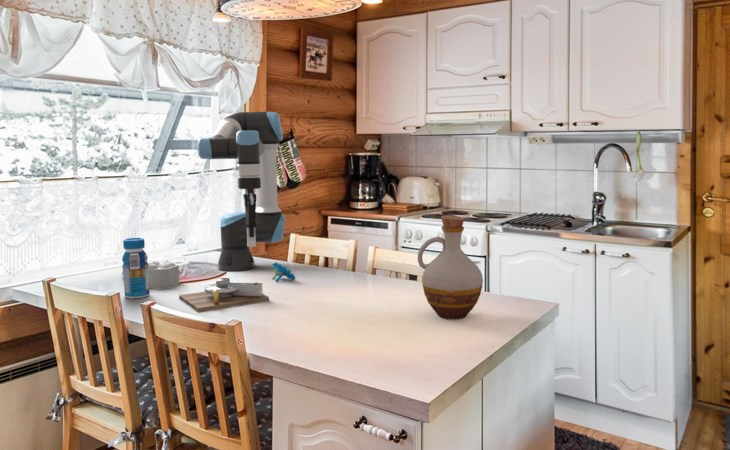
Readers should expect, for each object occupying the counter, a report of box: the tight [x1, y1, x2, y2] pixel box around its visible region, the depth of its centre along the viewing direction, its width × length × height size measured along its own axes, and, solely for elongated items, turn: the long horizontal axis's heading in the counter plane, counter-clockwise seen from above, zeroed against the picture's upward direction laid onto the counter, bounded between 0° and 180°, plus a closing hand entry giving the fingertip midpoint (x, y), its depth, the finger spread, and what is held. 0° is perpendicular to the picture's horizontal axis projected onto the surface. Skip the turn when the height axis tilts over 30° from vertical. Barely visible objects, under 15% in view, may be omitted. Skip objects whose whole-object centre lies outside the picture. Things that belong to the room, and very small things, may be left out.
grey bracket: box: [204, 277, 263, 296], centre depth 202 cm, size 19×12×5 cm, turn 83°
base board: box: [178, 291, 270, 313], centre depth 202 cm, size 20×24×3 cm
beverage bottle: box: [121, 237, 151, 300], centre depth 207 cm, size 8×8×20 cm
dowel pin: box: [213, 290, 219, 305], centre depth 192 cm, size 2×2×4 cm
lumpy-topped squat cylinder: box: [147, 260, 180, 290], centre depth 225 cm, size 10×13×9 cm
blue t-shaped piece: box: [272, 262, 297, 283], centre depth 229 cm, size 11×6×10 cm
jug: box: [417, 215, 484, 321], centre depth 179 cm, size 20×18×30 cm
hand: (251, 246), depth 205 cm, fingers closed
